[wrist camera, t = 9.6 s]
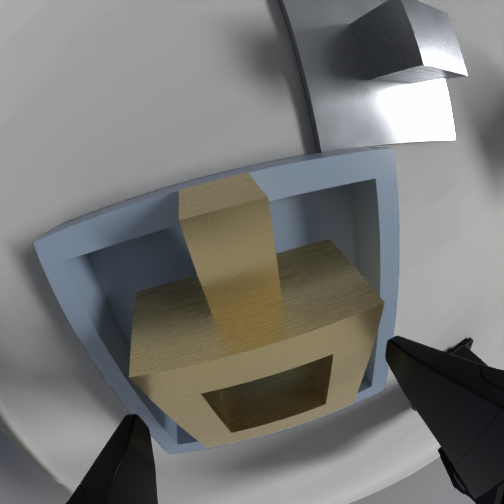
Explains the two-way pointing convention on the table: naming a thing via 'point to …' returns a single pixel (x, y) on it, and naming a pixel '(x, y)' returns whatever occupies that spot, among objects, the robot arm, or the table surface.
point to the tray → (181, 266)
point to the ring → (251, 323)
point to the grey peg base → (374, 70)
